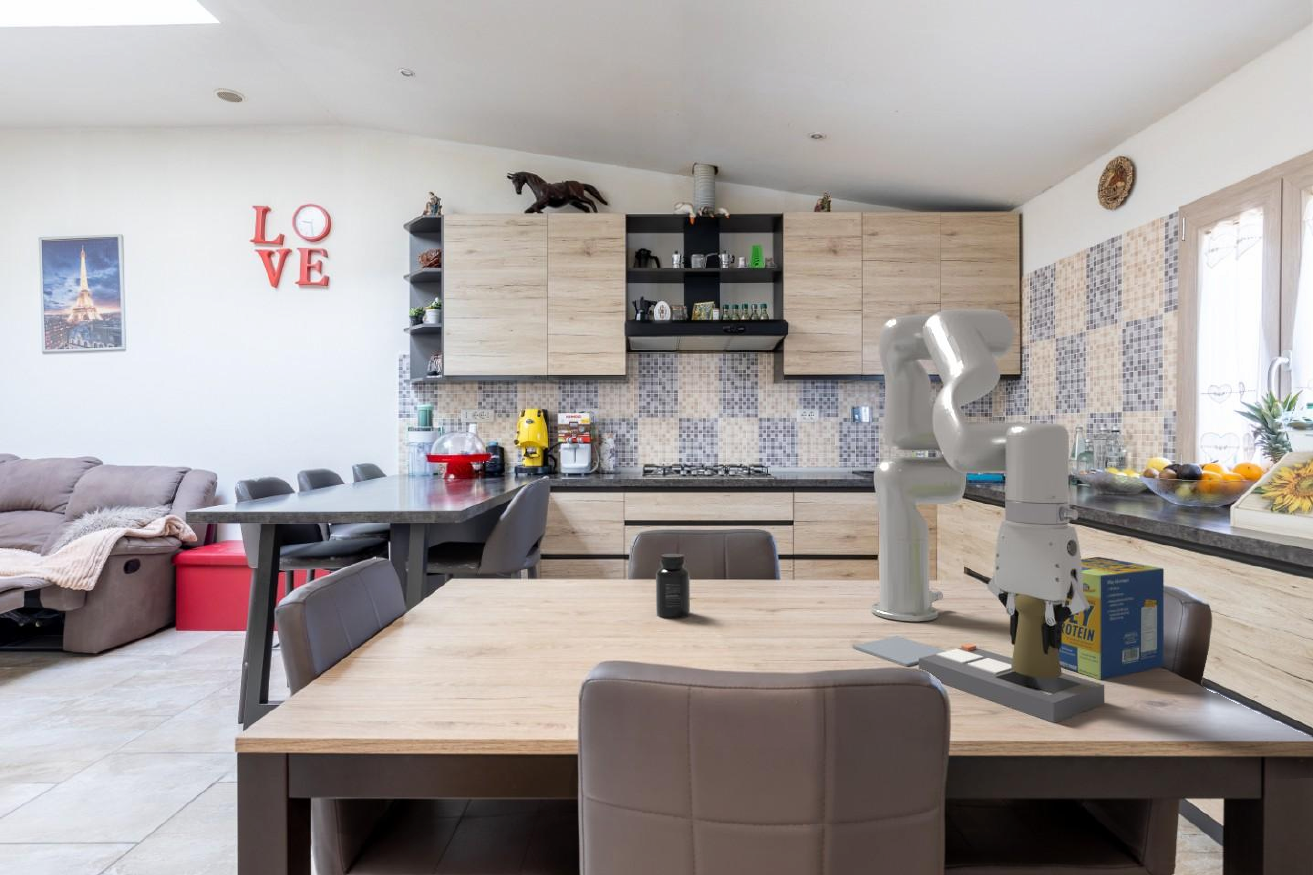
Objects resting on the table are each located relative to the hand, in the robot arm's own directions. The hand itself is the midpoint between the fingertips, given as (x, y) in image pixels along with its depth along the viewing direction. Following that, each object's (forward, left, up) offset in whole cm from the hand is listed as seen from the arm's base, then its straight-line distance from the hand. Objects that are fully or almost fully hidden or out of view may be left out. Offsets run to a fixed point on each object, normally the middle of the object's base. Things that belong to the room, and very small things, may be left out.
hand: (1035, 646), depth 93 cm
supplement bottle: (+19, -63, -7) cm, 66 cm away
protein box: (-23, -3, -7) cm, 24 cm away
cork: (0, 0, -3) cm, 3 cm away
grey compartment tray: (0, -4, -7) cm, 8 cm away
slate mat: (-1, -23, -7) cm, 24 cm away
